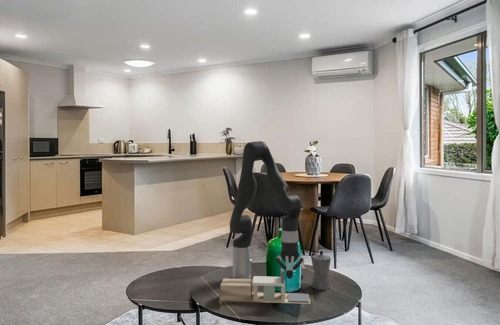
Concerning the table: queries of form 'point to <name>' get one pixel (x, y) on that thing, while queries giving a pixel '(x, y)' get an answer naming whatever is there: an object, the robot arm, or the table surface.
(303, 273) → the game die
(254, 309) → the table surface
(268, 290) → the sage block
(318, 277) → the coffeepot
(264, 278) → the slide cover
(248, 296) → the puzzle board
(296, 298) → the slate pad
